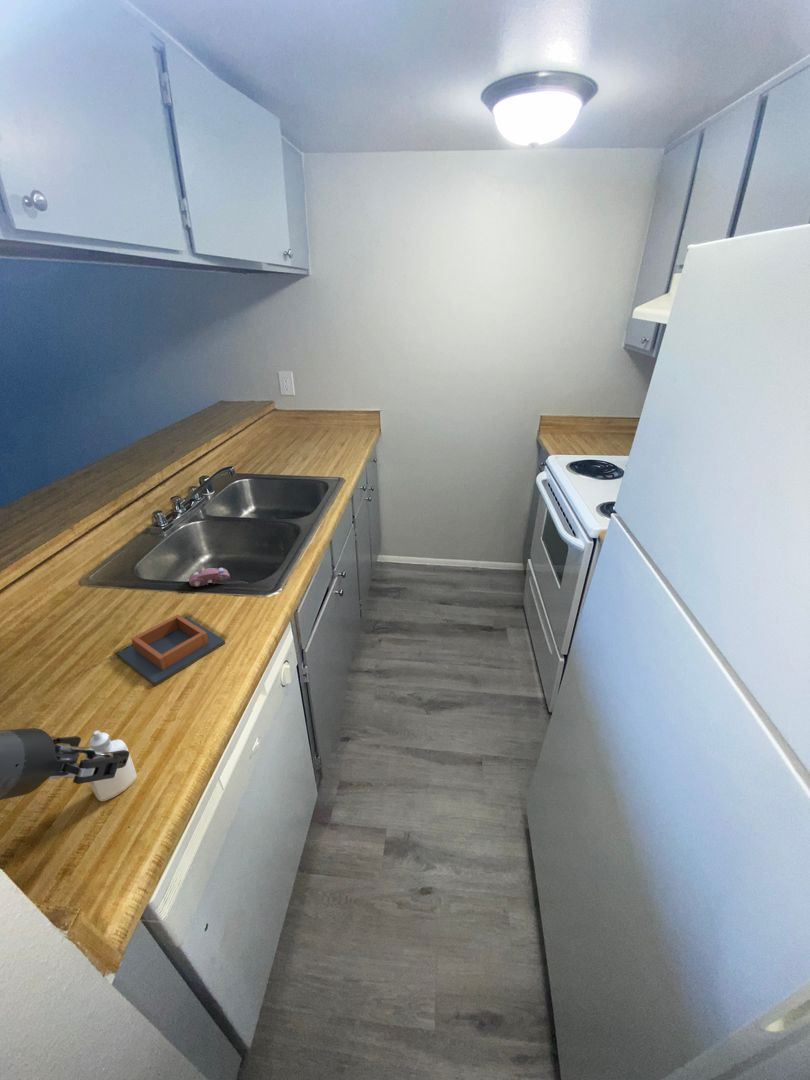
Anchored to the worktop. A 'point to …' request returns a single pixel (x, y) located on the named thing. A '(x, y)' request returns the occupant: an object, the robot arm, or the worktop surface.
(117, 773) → the eye dropper bottle
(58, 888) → the worktop surface
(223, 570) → the pink toy car
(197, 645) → the socket pad
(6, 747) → the robot arm
